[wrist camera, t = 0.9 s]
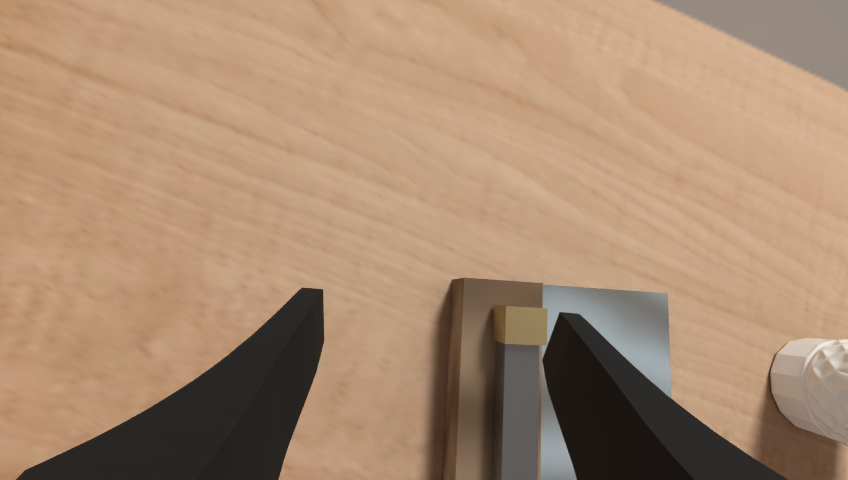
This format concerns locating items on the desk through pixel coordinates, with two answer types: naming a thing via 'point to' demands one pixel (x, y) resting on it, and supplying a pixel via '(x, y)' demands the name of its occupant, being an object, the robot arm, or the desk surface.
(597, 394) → the robot arm
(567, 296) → the door board
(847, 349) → the white cup
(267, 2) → the desk surface
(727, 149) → the desk surface
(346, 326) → the desk surface
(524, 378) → the latch bar
